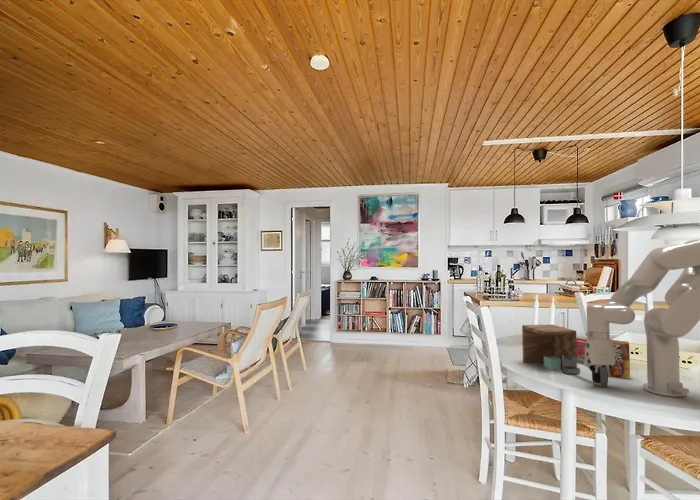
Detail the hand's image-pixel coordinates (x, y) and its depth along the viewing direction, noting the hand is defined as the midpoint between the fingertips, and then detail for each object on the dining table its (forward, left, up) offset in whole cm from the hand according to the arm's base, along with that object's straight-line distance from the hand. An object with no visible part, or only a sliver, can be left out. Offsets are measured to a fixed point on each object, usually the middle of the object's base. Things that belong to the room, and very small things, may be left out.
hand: (600, 381), depth 149 cm
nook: (+28, +3, -2) cm, 28 cm away
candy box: (+10, -17, -2) cm, 20 cm away
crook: (+8, 0, -1) cm, 8 cm away
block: (+25, +3, -2) cm, 25 cm away
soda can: (+32, -19, -2) cm, 37 cm away
